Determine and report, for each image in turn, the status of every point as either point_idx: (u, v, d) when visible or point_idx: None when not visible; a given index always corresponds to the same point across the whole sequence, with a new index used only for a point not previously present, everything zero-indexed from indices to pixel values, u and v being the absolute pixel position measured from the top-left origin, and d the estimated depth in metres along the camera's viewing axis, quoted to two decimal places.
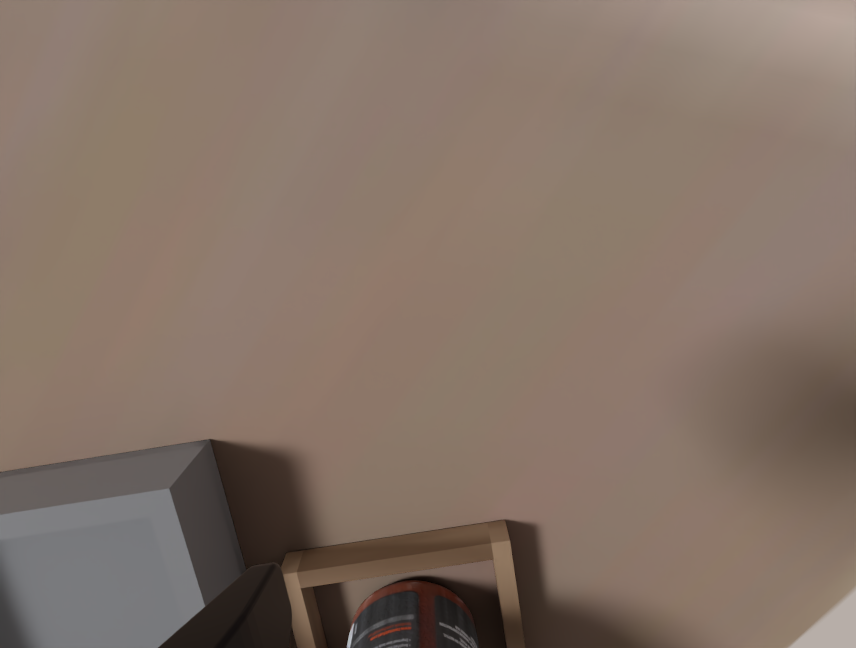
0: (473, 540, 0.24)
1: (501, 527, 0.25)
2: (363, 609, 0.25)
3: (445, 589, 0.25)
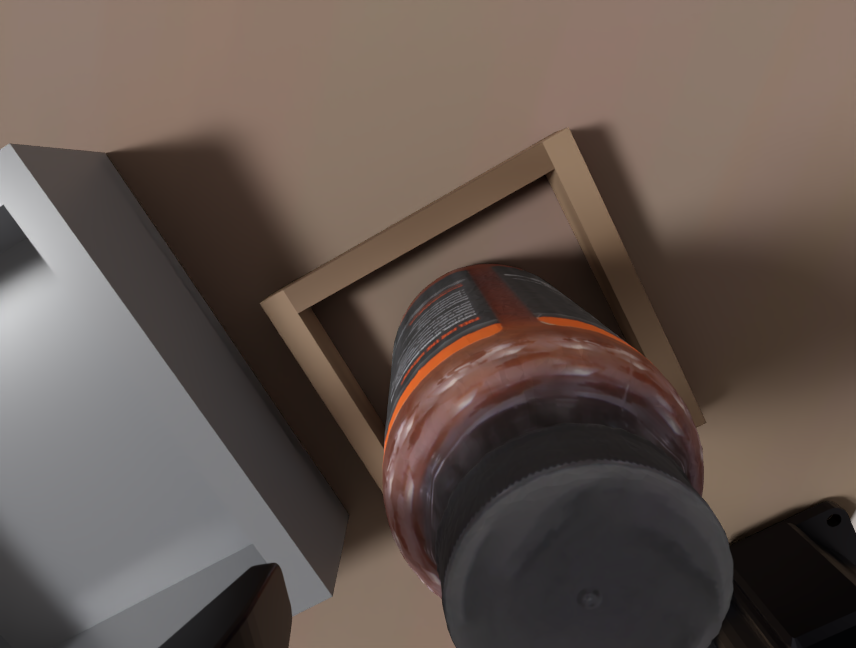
0: (516, 156, 0.16)
1: (552, 134, 0.16)
2: (400, 326, 0.17)
3: (506, 265, 0.17)
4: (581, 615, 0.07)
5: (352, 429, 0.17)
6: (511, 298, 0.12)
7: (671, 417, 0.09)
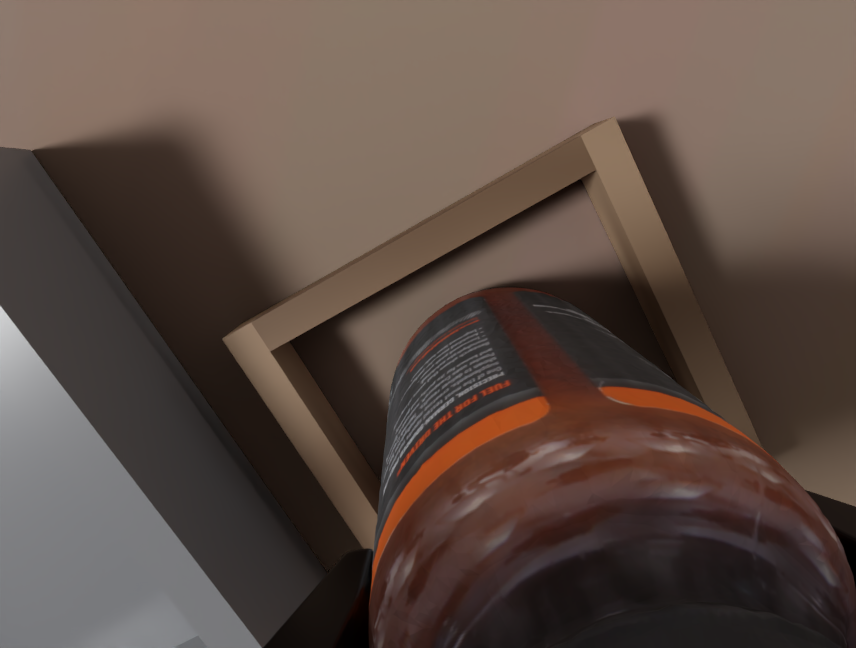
0: (547, 153, 0.12)
1: (590, 126, 0.13)
2: (398, 365, 0.14)
3: (531, 289, 0.14)
4: None
5: (338, 493, 0.14)
6: (552, 347, 0.09)
7: (823, 559, 0.06)
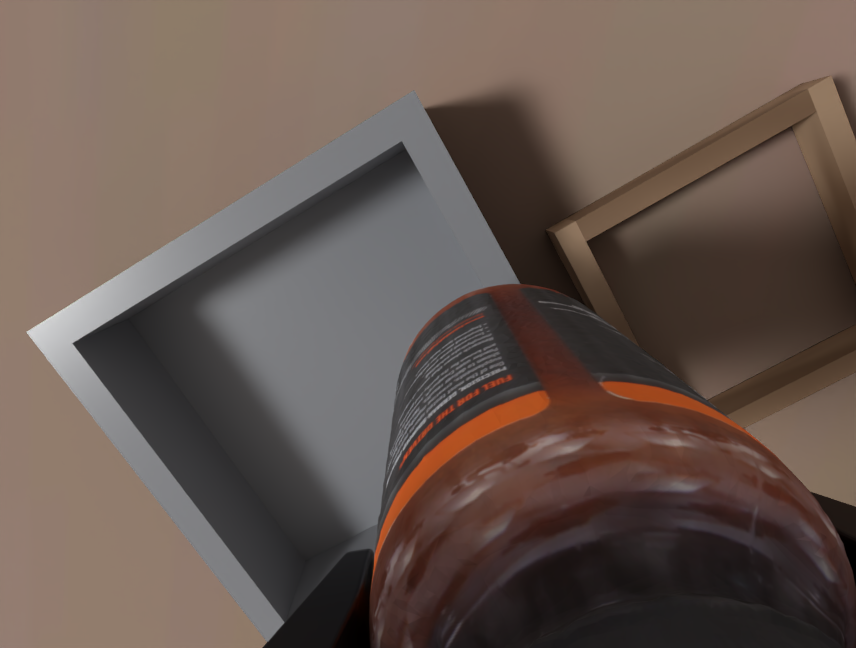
0: (780, 102, 0.19)
1: (804, 84, 0.19)
2: (404, 361, 0.14)
3: (537, 286, 0.14)
4: None
5: None
6: (555, 343, 0.09)
7: (821, 554, 0.06)
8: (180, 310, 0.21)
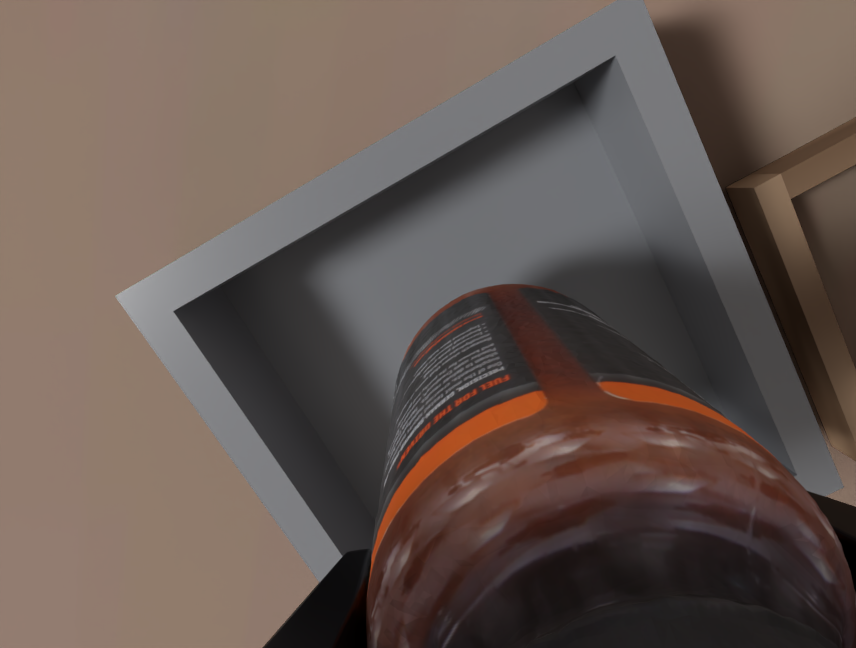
0: None
1: None
2: (403, 361, 0.14)
3: (536, 286, 0.14)
4: None
5: (819, 325, 0.17)
6: (552, 343, 0.09)
7: (819, 555, 0.06)
8: (284, 277, 0.17)
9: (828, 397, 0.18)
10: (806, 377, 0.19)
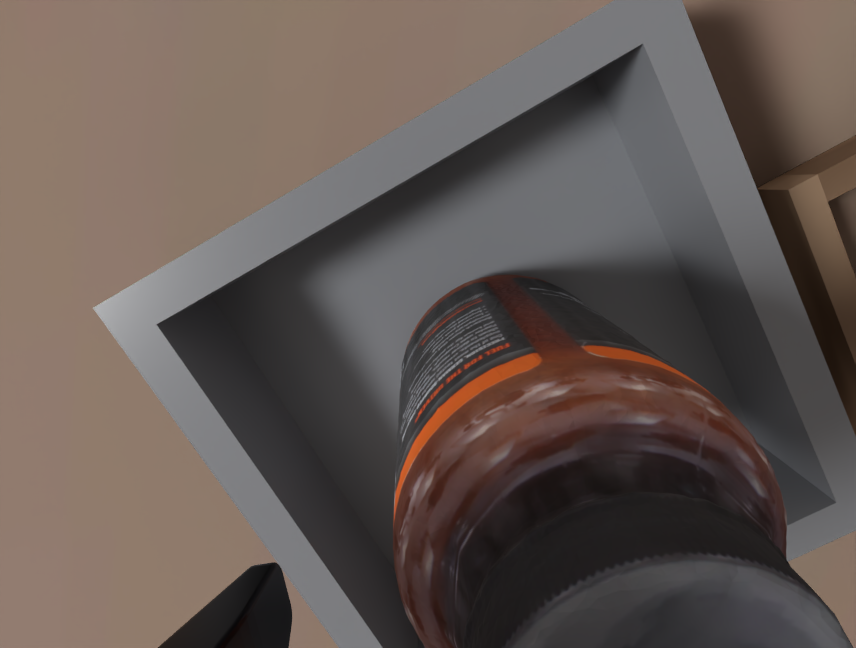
0: None
1: None
2: (409, 343, 0.15)
3: None
4: None
5: None
6: (544, 319, 0.10)
7: (754, 475, 0.07)
8: (279, 285, 0.16)
9: None
10: (839, 393, 0.17)
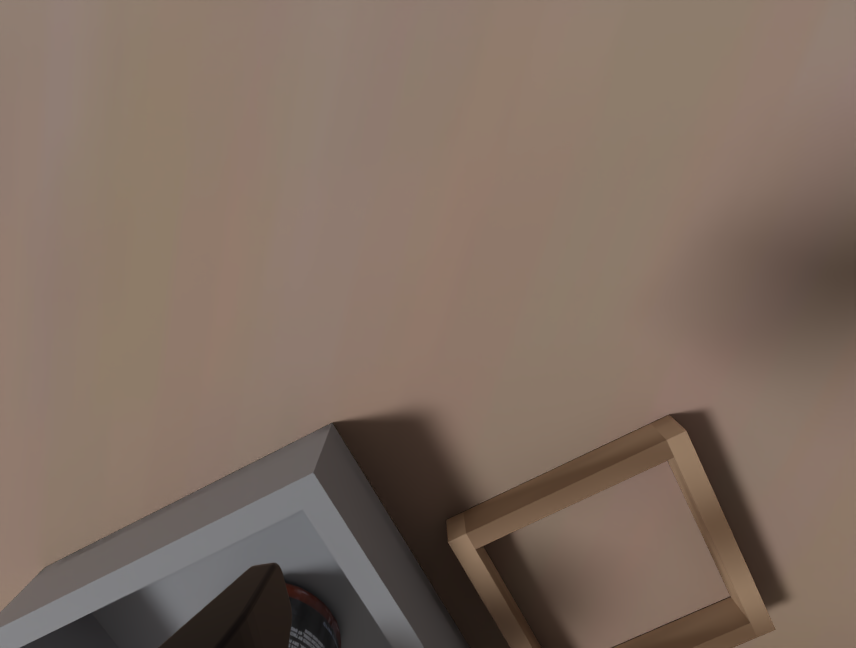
0: (645, 443, 0.21)
1: (669, 422, 0.22)
2: None
3: None
4: None
5: (507, 629, 0.23)
6: None
7: None
8: None
9: None
10: None
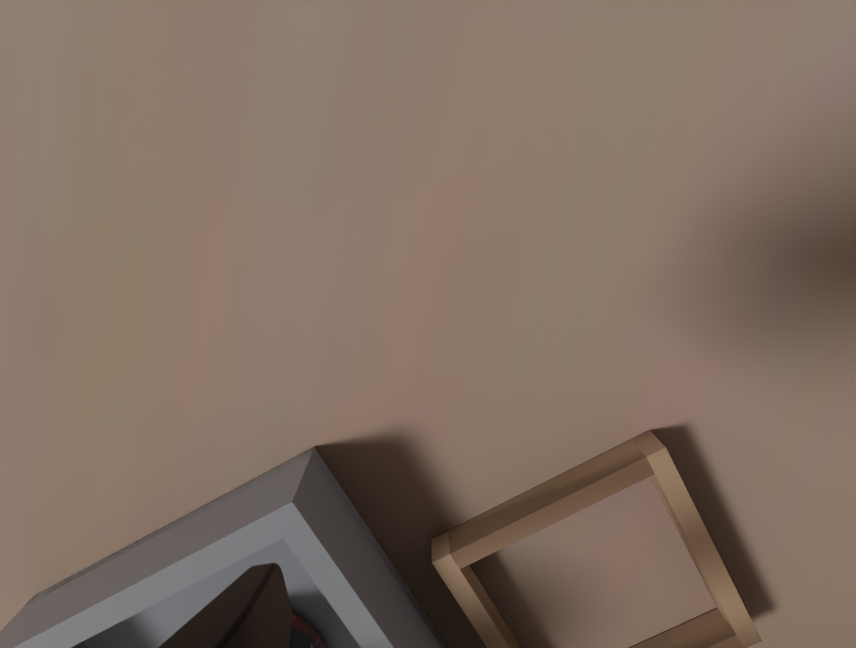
0: (625, 460, 0.21)
1: (649, 438, 0.22)
2: None
3: None
4: None
5: (494, 647, 0.23)
6: None
7: None
8: None
9: None
10: None
